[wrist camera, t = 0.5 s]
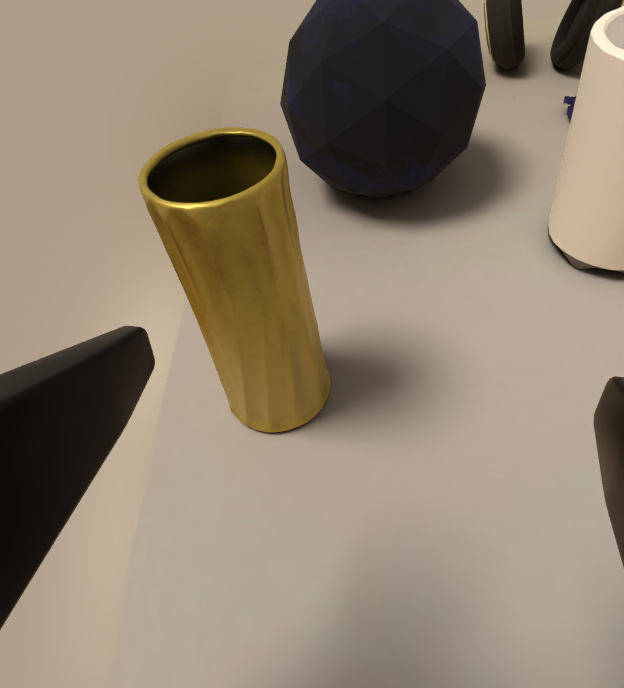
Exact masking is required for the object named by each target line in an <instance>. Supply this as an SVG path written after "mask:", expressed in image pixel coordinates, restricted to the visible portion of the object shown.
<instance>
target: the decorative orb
mask: <svg viewBox="0 0 624 688" xmlns="http://www.w3.org/2000/svg"><path fill="white" fill-rule="evenodd" d="M485 86H486V83H485V76H484V68H483V61H482V53H481V46H480V39H479V31H478V24H477V21H476V19H475V18H474V17H473V16H472V15H471V14H470V13H469V12H468V10H467V9H466V8H465V7H464V6H463V5H462V4H461V3H460V2H459V0H316V2H315V3H314V5H313V6H312V8H311V10H310V11H309V13H308V14H307V16H306V17H305V19H304V20H303V22H302V23H301V25H300V26H299V28H298V29H297V31H296V32H295V34H294V35H293V37H292V39H291V40H290V42H289V49H288V56H287V62H286V69H285V76H284V83H283V90H282V97H281V103H280V104H281V107H282V110H283V113H284V116H285V119H286V121H287V124H288V127H289V130H290V133H291V135H292V138H293V141H294V144H295V147H296V149H297V152H298V155H299V158H300V160H301V161H302V162H303V163H304V164H305V165H306V166H308V167H309V168H310V169H311V170H312V171H313V172H315V173H316V174H317V175H318V176H319V177H320V178H322V179H323V180H324V181H325V182H326V183H327V184H329V185H330V186H331V187H332V188H335V189H339V190H343V191H346V192H350V193H355V194H360V195H365V196H370V197H375V198H381V199H382V198H385V197H388V196H392V195H395V194H399V193H402V192H405V191H409V190H412V189H415V188H417V187H420V186H422V185H424V184H426V183H428V182H430V181H432V180H433V179H434V178H435V177H436V176H437V175H438V174H439V173H440V172H441V171H442V170H444V169H445V168H446V167H447V166H448V165H449V164H450V163H451V162H452V161H453V160H454V159H455V158H456V157H458V156H459V155H460V154H461V153H462V152H463V151H464V150H465V149H466V148H467V146H468V143H469V140H470V136H471V133H472V130H473V126H474V123H475V120H476V116H477V113H478V110H479V106H480V103H481V100H482V96H483V93H484V90H485Z"/></svg>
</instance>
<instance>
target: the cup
mask: <svg viewBox="0 0 624 688" xmlns="http://www.w3.org/2000/svg"><path fill="white" fill-rule="evenodd" d="M548 235H549V237H550V238H551V239H552V240H553V242H554V243H555V244H556V245H557V246H558V247H559V248H560V249H561V250H562V252H563V253H564V254H565V256H566V257H567V259H568V260H569V261H570V263H571V265H572V266H574V267H576V268H578V269H589V268H601V269H609V270H615V271H620V272H621V273H623V274H624V6H623V7H621V8H618V9H616V10H613V11H610V12H608V13H606V14H604V15H603V16H602V17H601V18H600V19H599V20H597V21H596V22H595V23H594V25H593V28H592V30H591V32H590V37H589V41H588V46H587V50H586V55H585V59H584V64H583V68H582V73H581V78H580V82H579V87H578V91H577V96H576V100H575V105H574V109H573V114H572V118H571V123H570V127H569V132H568V136H567V141H566V145H565V150H564V155H563V159H562V164H561V168H560V173H559V177H558V182H557V186H556V191H555V195H554V200H553V204H552V209H551V214H550V218H549V223H548Z"/></svg>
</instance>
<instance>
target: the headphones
mask: <svg viewBox="0 0 624 688" xmlns="http://www.w3.org/2000/svg"><path fill="white" fill-rule="evenodd" d="M623 2H624V0H572V1H571V3H570V5H569V7H568V9H567V11H566V13H565V15H564V17H563V19H562V21H561V23H560V25H559V28H558V30H557V33H556V35H555V38H554V41H553V44H552V48H551V59H552V62H553V63H554V64H555V65H556V66H558V67H561V68H570V67H572V66H575V65H577V64H579V63H580V62H582V61H583V60H584V59H585V55H586V50H587V46H588V41H589V37H590V32H591V30H592V28H593V25H594V23H595V22H596V21H597V20H599V19H600V18H601V17H602V16H603V15H604V14H606V13H608V12H610V11H613V10H616V9H618V8H621V7H622V5H623ZM484 23H485V32H486V39H487V45H488V49H489V53H490V55H491V59H492V61H495V62H496V63H497V64H498V65H499V66H501V67H503V68H505V69H511V68H514V67H517V65H519V64H521V63H522V61H523V60H524V56H525V44H524V29H523V16H522V4H521V0H485V1H484Z"/></svg>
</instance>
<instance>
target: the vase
mask: <svg viewBox="0 0 624 688" xmlns="http://www.w3.org/2000/svg"><path fill="white" fill-rule="evenodd" d="M138 181H139V188H140V191H141V194H142V196H143V199H144V201H145V203H146V206H147V209H148V211H149V213H150V215H151V217H152V220H153V222H154V224H155V226H156V228H157V230H158V233H159V235H160V237H161V239H162V242H163V244H164V246H165V249H166V251H167V253H168V255H169V257H170V260H171V262H172V264H173V266H174V268H175V271H176V273H177V275H178V277H179V280H180V282H181V284H182V286H183V288H184V291H185V293H186V295H187V298H188V300H189V302H190V305H191V307H192V309H193V312H194V314H195V317H196V319H197V321H198V324H199V326H200V329H201V331H202V334H203V336H204V339H205V341H206V344H207V346H208V349H209V351H210V354H211V356H212V359H213V361H214V364H215V367H216V369H217V372H218V374H219V377H220V380H221V382H222V385H223V387H224V390H225V392H226V395H227V397H228V401H229V404H230V408H231V411H232V412H233V414H234V415H235V416H236V417H237V418H238V419H239V420H240V421H241V422H242V423H243V424H245V425H246V426H248V427H250V428H252V429H255V430H258V431H263V432H282V431H286V430H290V429H293V428H295V427H298V426H301V425H303V424H305V423H307V422H308V421H310V420H311V419H312V418H313V417H314V416H315V415H317V414H318V412H319V411H320V410H321V409H322V407H323V406H324V405H325V403H326V401H327V398H328V395H329V392H330V386H331V380H330V374H329V371H328V368H327V366H326V364H325V360H324V356H323V351H322V347H321V342H320V336H319V331H318V326H317V321H316V317H315V313H314V308H313V304H312V299H311V294H310V290H309V285H308V280H307V275H306V271H305V266H304V262H303V257H302V252H301V248H300V242H299V234H298V227H297V221H296V216H295V210H294V206H293V202H292V198H291V193H290V187H289V177H288V166H287V160H286V156H285V153H284V150H283V148H282V146H281V144H280V143H279V142H278V140H277V139H276V138H275V137H273V136H271V135H270V134H268V133H266V132H263V131H261V130H257V129H251V128H240V127H226V128H217V129H212V130H207V131H203V132H199V133H196V134H193V135H190V136H187V137H184V138H182V139H179V140H177V141H175V142H173V143H171V144H169V145H167V146H165V147H164V148H162V149H161V150H159V151H158V152H157V153H156V154H154V156H152V157H151V158H150V160H149V161H148V162H147V163H146V164H145V165H144V167H143V168H142V170H141V171H140V174H139V180H138Z"/></svg>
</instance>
